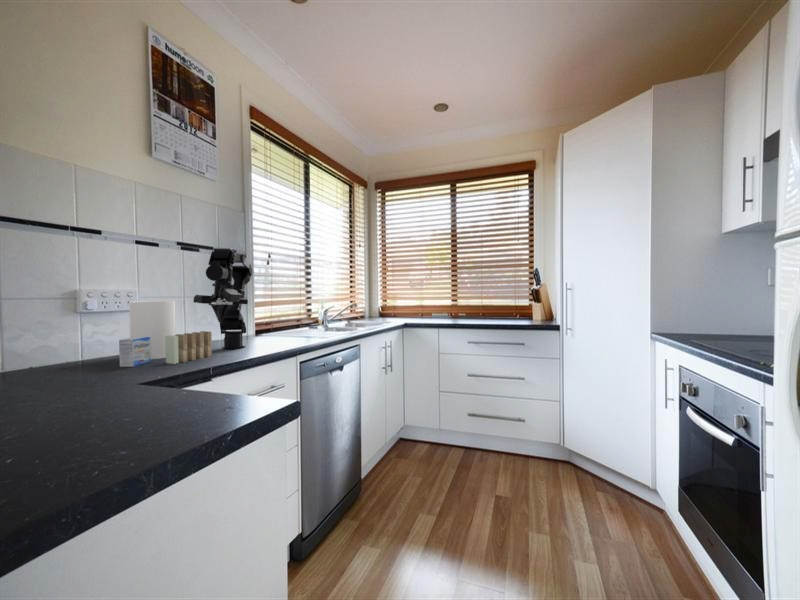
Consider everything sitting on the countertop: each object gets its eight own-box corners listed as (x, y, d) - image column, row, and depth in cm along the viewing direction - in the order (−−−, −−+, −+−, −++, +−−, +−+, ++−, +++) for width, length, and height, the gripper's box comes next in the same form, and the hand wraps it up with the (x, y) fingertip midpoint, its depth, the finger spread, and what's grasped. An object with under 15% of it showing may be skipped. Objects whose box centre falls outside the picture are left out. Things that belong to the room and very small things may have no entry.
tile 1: (203, 355, 130) (203, 331, 130) (211, 356, 129) (211, 331, 129) (200, 356, 129) (199, 331, 129) (208, 357, 128) (208, 332, 127)
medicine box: (133, 367, 111) (132, 339, 111) (119, 367, 111) (118, 339, 111) (151, 362, 119) (150, 336, 119) (138, 362, 119) (137, 336, 119)
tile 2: (195, 357, 127) (195, 332, 127) (204, 357, 126) (203, 332, 126) (192, 357, 126) (191, 332, 126) (200, 358, 125) (200, 333, 124)
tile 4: (179, 360, 121) (178, 334, 121) (187, 361, 120) (187, 334, 120) (175, 361, 120) (174, 334, 120) (183, 362, 119) (183, 335, 118)
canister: (176, 357, 128) (175, 301, 127) (129, 361, 120) (128, 302, 119) (175, 351, 139) (174, 300, 138) (131, 355, 131) (130, 301, 131)
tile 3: (187, 358, 124) (187, 333, 124) (196, 359, 123) (195, 333, 123) (183, 359, 123) (183, 333, 123) (192, 360, 122) (191, 334, 121)
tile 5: (170, 362, 118) (169, 335, 118) (178, 363, 117) (178, 335, 117) (165, 363, 117) (165, 335, 117) (174, 364, 116) (174, 336, 115)
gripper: (212, 280, 123) (209, 325, 123) (258, 284, 139) (255, 323, 139) (193, 279, 129) (191, 322, 129) (240, 282, 145) (237, 321, 145)
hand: (220, 322), depth 135 cm, fingers closed
